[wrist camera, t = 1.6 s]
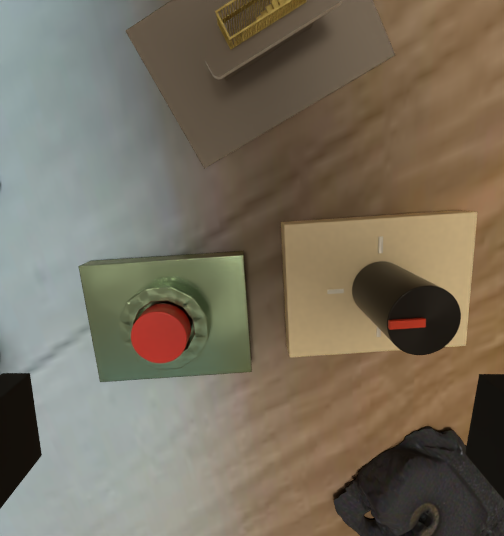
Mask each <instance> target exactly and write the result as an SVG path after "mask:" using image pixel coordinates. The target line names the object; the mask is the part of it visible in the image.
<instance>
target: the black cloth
mask: <svg viewBox="0 0 504 536" xmlns="http://www.w3.org/2000/svg"><path fill="white" fill-rule="evenodd" d="M466 447H467V446H465V445H464V443H463V441H462V440H461V438H460V437H459V436H458V435H457V434H456V433H455V432H454V431H444V432H441V433H439V432H437V431H435V430H433V429H432V428H431V427H424V428H422V429H421V430H420V431H414V432H413V433H412V434H411V435H409V436H406V437H405V440H404V441H403V442H402V443H401V444H399V445H398V446H396V447H394V448H392V449H389V450H387V451H386V452H384V453H382V454H380V455H378V456H377V457H376V458H374V459H373V460H372V461H371V462H369V463H368V464H367V465H366V466H364V467H363V468H362V469H361V470H360V471H359V473H358V476H357V479H356V480H353V482H351V483H350V486H349V487H347V488H345V489H346V492H345V493H343V494H341V495H340V496H339V498H337V499H335V500H334V504H335V509H336V511H337V513H338V515H340V516H341V517H342V519H343V521H344V522H345V523H346V524H347V525H348V526H349V527H351V528H352V529H353V530H355V531H356V532H357V533H358V534H359V535H360V536H504V500H503V498H502V497H501V496H500V495H499V494H498V492H497V491H496V490H495V489H494V488H493V486H492V485H491V484H490V483H489V482H488V480H487V479H486V478H485V477H484V476H483V475H482V473H481V472H480V471H479V470H478V469H477V467H476V466H475V465H474V464H473V463H472V461H471V460H470V459H469V458H468V457H467V455H466V454H465V452H466ZM370 510H371V514H372V516H373V517H375V520H369V519H367V518H365V517H364V514H365V513H367V512H369V511H370Z"/></svg>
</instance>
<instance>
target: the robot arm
mask: <svg viewBox="0 0 504 536" xmlns="http://www.w3.org/2000/svg"><path fill="white" fill-rule="evenodd" d="M465 454H466V455H467V457H468V458H469V459H470V460H471V461H472V463H473V464H474V465H475V466H476V467H477V469H478V470H479V471H480V472H481V473H482V475H483V476H484V477H485V478H486V479H487V480H488V482H489V483H490V484H491V485H492V486H493V488H494V489H495V490H496V491H497V492H498V494H499V495H500V496H501V497H502V498H503V500H504V374H479V379H478V385H477V390H476V396H475V402H474V407H473V413H472V419H471V424H470V430H469V435H468V441H467V447H466V452H465ZM41 455H42V454H41V447H40V441H39V434H38V427H37V420H36V413H35V406H34V399H33V392H32V385H31V378H30V373H3V374H1V375H0V508H1V507H2V506H3V504H4V503H5V502H6V501H7V499H8V498H9V497H10V495H11V494H12V493H13V492H14V490H15V489H16V488H17V486H18V485H19V484H20V483H21V481H22V480H23V479H24V477H25V476H26V475H27V474H28V472H29V471H30V470H31V468H32V467H33V466H34V464H35V463H36V462H37V461H38V459H39V458H40V457H41Z"/></svg>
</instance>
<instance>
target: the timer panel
mask: <svg viewBox="0 0 504 536" xmlns="http://www.w3.org/2000/svg"><path fill="white" fill-rule="evenodd" d="M476 222H477V212H473V211H462V210H454V211H439V212H423V213H408V214H393V215H378V216H363V217H348V218H333V219H318V220H303V221H288V222H281V237H282V259H283V282H284V304H285V326H286V346H287V349H288V353H289V357H304V356H319V355H334V354H349V353H364V352H379V351H393V350H400V349H399V348H398V347H396V346H395V345H394V344H393V343H392V341H391V340H390V339H389V338H388V337H387V336H386V335H385V334H384V333H383V332H382V331H381V330H380V329H379V328H378V327H377V326H376V325H375V324H374V323H373V322H372V321H371V320H370V319H369V318H368V316H367V315H366V314H365V313H364V312H363V311H362V310H361V309H360V308H359V307H358V306H357V305H356V303H355V301H354V299H353V295H352V286H353V282H354V279H355V277H356V276H357V274H358V273H359V272H360V271H361V270H362V269H363V268H364V267H366V266H367V265H369V264H371V263H374V262H379V261H385V262H390V263H393V264H395V265H397V266H399V267H401V268H403V269H405V270H407V271H409V272H411V273H413V274H415V275H417V276H419V277H421V278H423V279H425V280H427V281H429V282H431V283H433V284H435V285H437V286H439V287H441V288H443V289H445V290H447V291H448V292H450V293H451V294H452V295H453V296H454V297H455V299H456V300H457V302H458V304H459V307H460V311H461V321H460V326H459V329H458V331H457V333H456V335H455V336H454V338H453V339H452V340H451V341H450V342H449V343H448V344H447V345H446V346H445V347H453V346H466V337H467V325H468V314H469V302H470V291H471V279H472V268H473V256H474V245H475V233H476Z"/></svg>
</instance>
